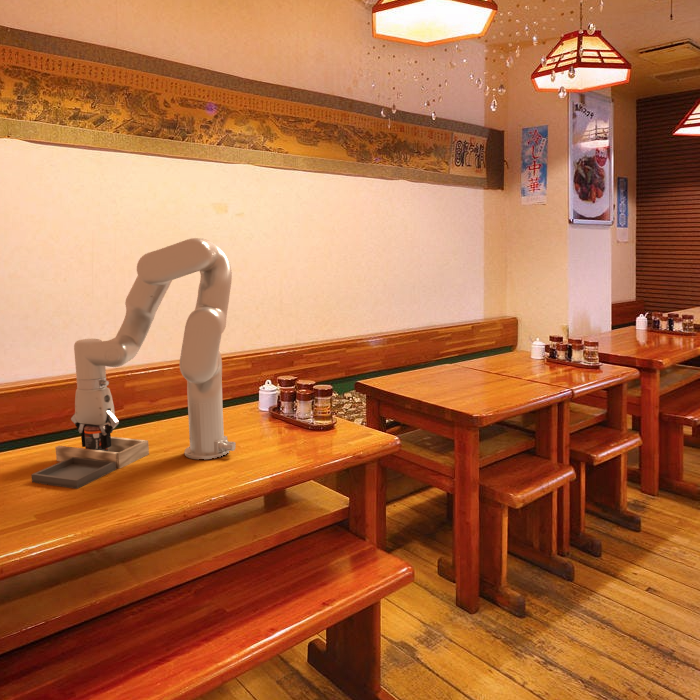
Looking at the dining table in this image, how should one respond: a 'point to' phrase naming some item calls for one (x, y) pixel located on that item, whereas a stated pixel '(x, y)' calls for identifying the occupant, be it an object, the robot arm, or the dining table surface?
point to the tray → (74, 472)
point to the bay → (120, 449)
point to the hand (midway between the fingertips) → (96, 446)
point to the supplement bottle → (93, 437)
